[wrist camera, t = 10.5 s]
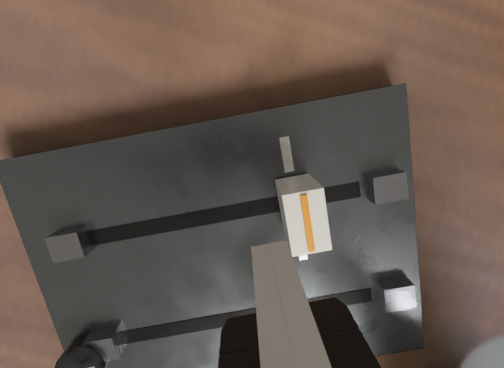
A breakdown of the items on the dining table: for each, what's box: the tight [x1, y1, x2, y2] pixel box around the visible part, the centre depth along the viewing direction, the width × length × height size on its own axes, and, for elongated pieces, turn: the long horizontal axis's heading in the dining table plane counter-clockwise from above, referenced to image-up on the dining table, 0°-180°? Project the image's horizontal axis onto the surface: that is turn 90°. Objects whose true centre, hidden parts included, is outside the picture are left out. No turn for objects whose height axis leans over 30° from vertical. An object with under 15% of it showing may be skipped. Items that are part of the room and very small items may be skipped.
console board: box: [0, 83, 424, 368], centre depth 24 cm, size 22×30×4 cm
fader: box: [275, 173, 332, 257], centre depth 21 cm, size 4×2×5 cm, turn 10°
